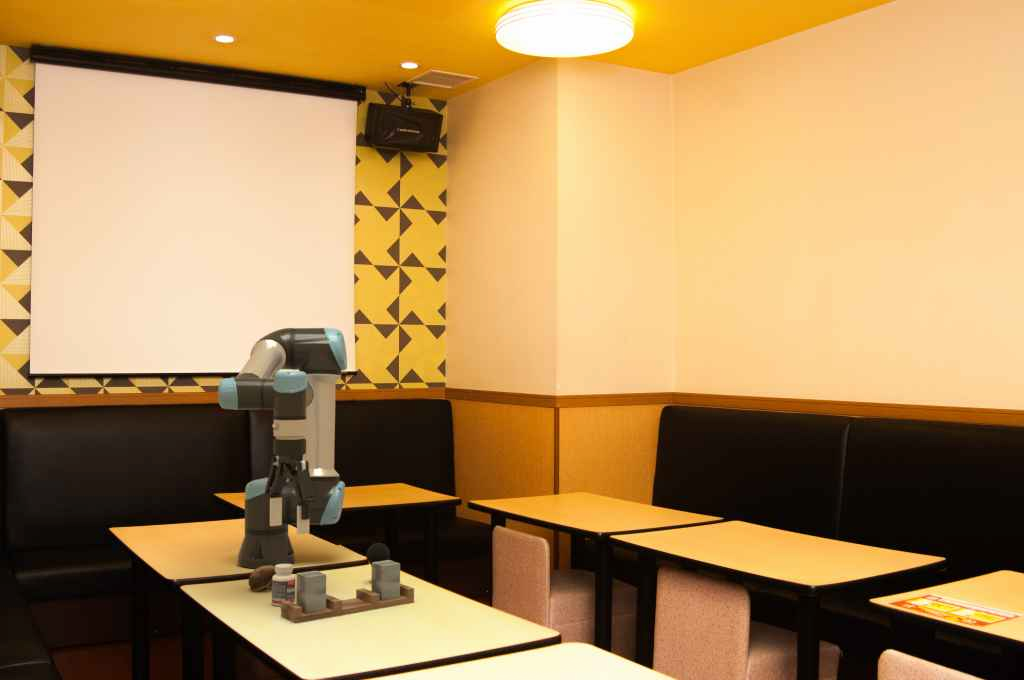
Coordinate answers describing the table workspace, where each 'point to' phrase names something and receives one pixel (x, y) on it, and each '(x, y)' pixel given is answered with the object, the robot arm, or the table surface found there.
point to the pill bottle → (283, 584)
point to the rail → (321, 605)
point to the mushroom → (261, 578)
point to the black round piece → (378, 553)
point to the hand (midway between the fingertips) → (289, 529)
